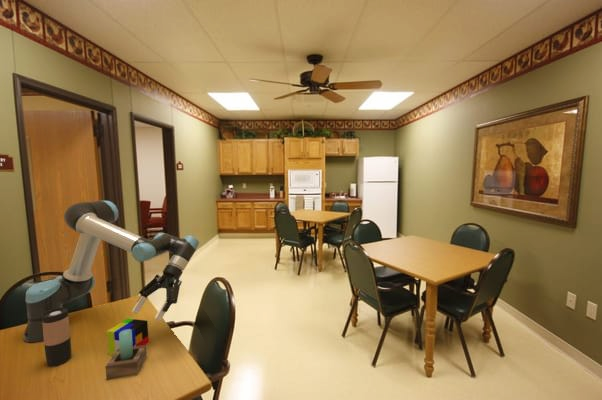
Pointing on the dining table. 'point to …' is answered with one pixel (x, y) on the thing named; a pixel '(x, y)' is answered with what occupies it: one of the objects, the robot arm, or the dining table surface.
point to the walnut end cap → (126, 364)
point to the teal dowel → (126, 345)
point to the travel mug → (56, 336)
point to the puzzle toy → (138, 334)
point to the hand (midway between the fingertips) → (145, 316)
